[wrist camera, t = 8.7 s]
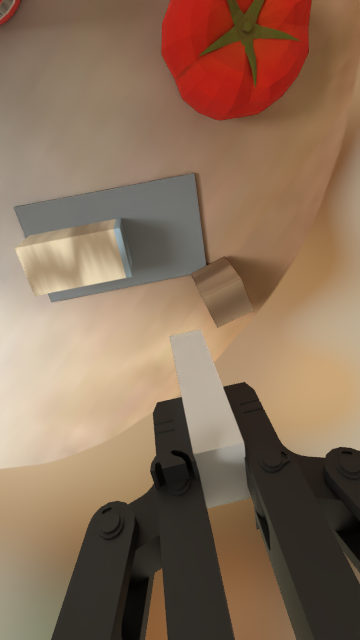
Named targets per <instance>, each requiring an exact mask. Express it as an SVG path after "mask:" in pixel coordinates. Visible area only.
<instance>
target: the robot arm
mask: <svg viewBox="0 0 360 640" xmlns="http://www.w3.org/2000/svg"><path fill="white" fill-rule="evenodd" d="M170 341H171V346H172V351H173V356H174V361H175V366H176V371H177V376H178V381H179V386H180V391H181V396H182V397H180V398H175V399H171V400H166V401H162V402H157V405H156V407H155V409H154V412H153V420H154V432H155V445H156V456H155V458H154V460H153V462H152V463H151V469H150V472H151V475H152V478H153V481H154V484H153V486H152V487H151V489H150V490H149V491H148V492H147V493H146V494H144V495H143V496H142V497H140V498H138V499H137V500H135V501H133V502H131V503H130V504H127V503H125V502H120V501H115V502H109V503H107V504H106V505H104V506H102V507H101V508H100V509H99V510H98V511H97V512H96V513H95V514H94V515H93V517H92V519H91V521H90V523H89V525H88V528H87V531H86V534H85V538H84V540H83V543H82V547H81V550H80V553H79V556H78V559H77V562H76V565H75V568H74V571H73V574H72V577H71V580H70V583H69V586H68V590H67V593H66V596H65V599H64V602H63V605H62V608H61V611H60V614H59V617H58V620H57V624H56V627H55V629H54V633H53V636H52V639H51V640H145V636H146V629H147V622H148V615H149V607H150V600H151V594H152V587H153V580H154V573H155V572H157V571H158V570H160V569H161V568H162V570H163V583H164V596H165V609H166V622H167V635H168V640H235V637H234V633H233V628H232V623H231V619H230V615H229V609H228V604H227V600H226V595H225V591H224V586H223V581H222V576H221V572H220V567H219V563H218V558H217V553H216V548H215V544H214V539H213V534H212V529H211V525H210V520H209V516H208V511H207V508H210V507H215V506H219V505H223V504H227V503H231V502H235V501H240V500H244V499H248V498H250V495H251V498H252V501H253V504H254V509H255V518H256V527H257V529H260V531H261V534H262V537H263V540H264V543H265V546H266V549H267V552H268V555H269V558H270V561H271V564H272V567H273V570H274V573H275V576H276V579H277V582H278V585H279V588H280V591H281V594H282V597H283V600H284V603H285V606H286V609H287V613H288V616H289V618H290V621H291V624H292V628H293V630H294V634H295V636H296V640H360V584H359V582H358V580H357V578H356V576H355V574H354V572H353V570H352V568H351V566H350V564H349V563H348V560H347V558H346V557H345V555H344V553H345V554H346V556H347V557H348V558H349V559H350V561H351V562H352V563H353V565H354V566H355V567H356V568H357V570H358V571H359V572H360V451H357V450H355V449H352V448H346V447H339V448H335V449H332V450H331V451H330V452H329V453H327V455H326V457H325V458H320V457H307V456H301V455H298V454H295V453H293V452H291V451H290V450H288V449H287V448H286V447H285V446H283V444H282V443H281V441H280V440H279V438H278V436H277V434H276V432H275V430H274V428H273V426H272V424H271V422H270V420H269V418H268V416H267V414H266V413H265V410H264V409H263V407H262V404H261V402H260V401H259V399H258V396H257V395H256V392H255V390H254V389H253V388H251V387H250V386H249V385H248V384H246V383H245V382H243V383H238V384H233V385H229V386H225V387H223V386H222V383H221V381H220V378H219V376H218V373H217V370H216V368H215V365H214V362H213V360H212V357H211V354H210V352H209V349H208V347H207V344H206V341H205V339H204V336H203V333H202V331H201V329H200V330H196V331H191V332H186V333H182V334H177V335H173V336H170ZM249 492H250V493H249ZM342 550H343V551H342ZM343 552H344V553H343Z"/></svg>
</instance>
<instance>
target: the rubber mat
mask: <svg viewBox="0 0 360 640" xmlns="http://www.w3.org/2000/svg"><path fill="white" fill-rule="evenodd" d="M14 209H15V212H16V214H17V217H18V220H19V222H20V225H21V227H22V230H23V232H24V235H25V237H26V238H27V237H28V236H30V235H34V234H40V233H45V232H50V231H55V230H60V229H66V228H71V227H76V226H81V225H87V224H92V223H97V222H102V221H107V220H113V219H118V218H122V222H123V226H124V231H125V235H126V239H127V243H128V247H129V251H130V255H131V259H132V277H128V278H123V279H118V280H113V281H108V282H103V283H98V284H93V285H87V286H82V287H77V288H72V289H67V290H62V291H57V292H52V293H48V295H49V298H50V300H51V302H56V301H61V300H66V299H71V298H76V297H81V296H86V295H91V294H96V293H101V292H106V291H111V290H116V289H121V288H126V287H131V286H136V285H141V284H146V283H151V282H156V281H161V280H166V279H171V278H176V277H181V276H186V275H191V273H193V272H195V271H197V270H199V269H201V268H203V267H205V266H206V261H205V253H204V245H203V237H202V229H201V221H200V214H199V206H198V198H197V190H196V182H195V174H194V173H192V174H187V175H181V176H176V177H171V178H165V179H160V180H155V181H149V182H144V183H139V184H134V185H128V186H123V187H118V188H112V189H107V190H102V191H97V192H91V193H86V194H81V195H75V196H70V197H65V198H59V199H54V200H49V201H44V202H38V203H33V204H28V205H22V206H17V207H14Z"/></svg>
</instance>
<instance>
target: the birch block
mask: <svg viewBox="0 0 360 640" xmlns="http://www.w3.org/2000/svg"><path fill="white" fill-rule="evenodd" d="M15 250H16V253H17V255H18V257H19V260H20V262H21V264H22V267H23V269H24V272H25V274H26V276H27V279H28V281H29V283H30V286H31V288H32V291H33V293H34V295H35V296H37V295H42V294H47V293H52V292H57V291H62V290H67V289H72V288H77V287H82V286H87V285H93V284H98V283H103V282H108V281H113V280H118V279H123V278H128V277H132V259H131V255H130V251H129V247H128V243H127V239H126V235H125V231H124V226H123V222H122V218H118V219H113V220H107V221H102V222H97V223H92V224H87V225H81V226H76V227H71V228H66V229H60V230H55V231H50V232H45V233H40V234H34V235H30V236H28V237H27V238H26V239H25V240H24V241H23V242H21V243H20V244H19V245H18V246H17V247H16V248H15Z"/></svg>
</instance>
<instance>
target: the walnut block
mask: <svg viewBox="0 0 360 640" xmlns="http://www.w3.org/2000/svg"><path fill="white" fill-rule="evenodd" d="M191 275H192V277H193V279H194V281H195V283H196V286H197V288H198V290H199V292H200V294H201V296H202V298H203V300H204V302H205V304H206V306H207V308H208V310H209V312H210V314H211V316H212V318H213V320H214V322H215V324H216V326H217V328H218V327H220V326H222V325H224V324H226V323H229V322H231V321H233V320H235V319H237V318H239V317H241V316H243V315H245V314H247V313H249V312H251V311H253V307H252V305H251V302H250V300H249V297H248V295H247V292H246V290H245V287H244V285H243V282H242V280H241V278H240V276H239V275H238V274H237V272H236V271H235V270H234V268H233V267H232V266H231V264H230V263H229V262H228V260H227V259H226V257H225V256H224V257H222V258H221V259H219V260H217V261H215V262H213V263H211V264H209V265H207V266H205V267H203V268H201V269H199V270H197V271H195V272H193V273H191Z"/></svg>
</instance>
